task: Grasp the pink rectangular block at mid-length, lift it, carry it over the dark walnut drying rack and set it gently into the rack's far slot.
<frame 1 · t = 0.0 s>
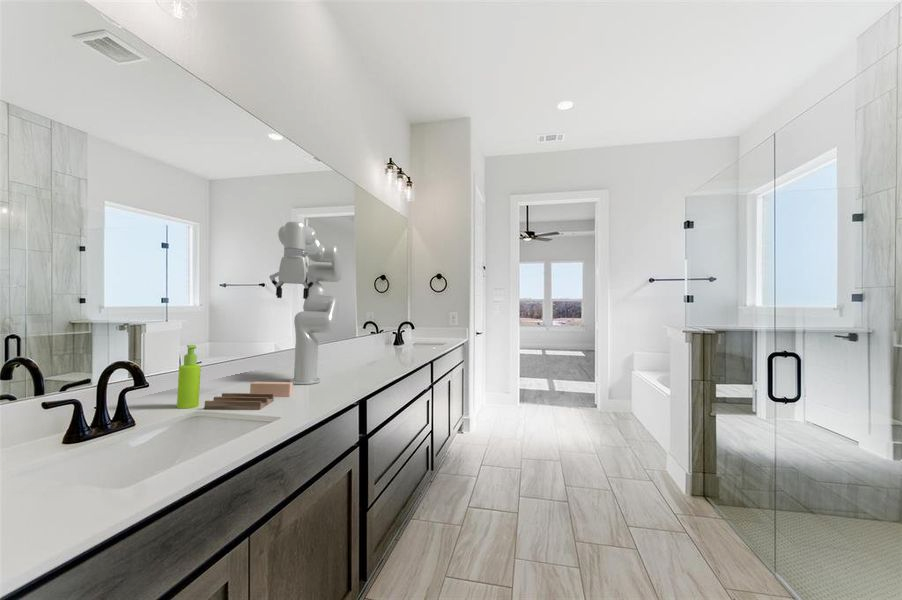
hand: (292, 298, 147), 37 cm above the counter, tool pointing down, fingers open, 9 cm apart
pink rectangular block: (271, 396, 143), on the counter
soap dispenser: (188, 407, 124), on the counter
drying rack: (240, 404, 128), on the counter
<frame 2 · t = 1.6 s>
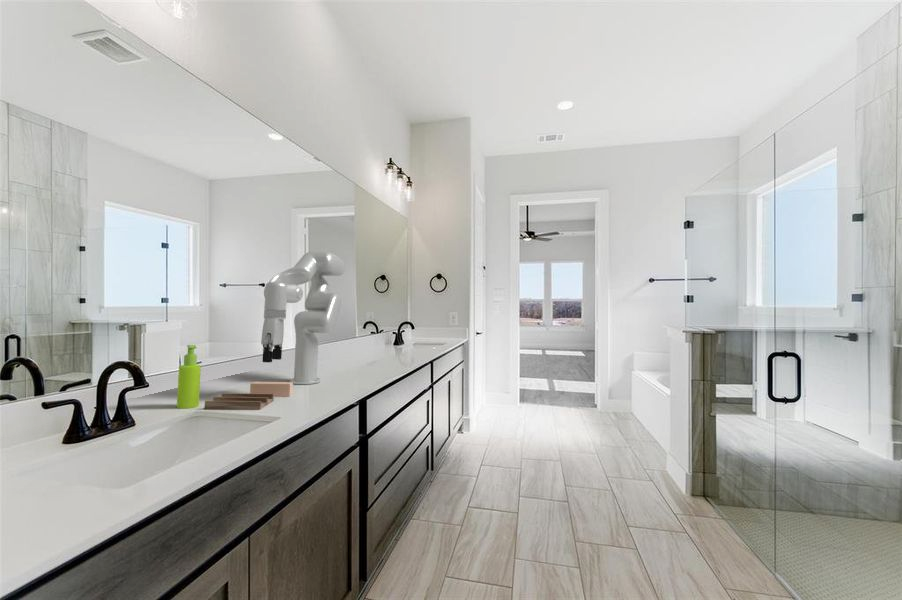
hand: (272, 360, 143), 13 cm above the counter, tool pointing down, fingers open, 9 cm apart
nothing on the counter moved.
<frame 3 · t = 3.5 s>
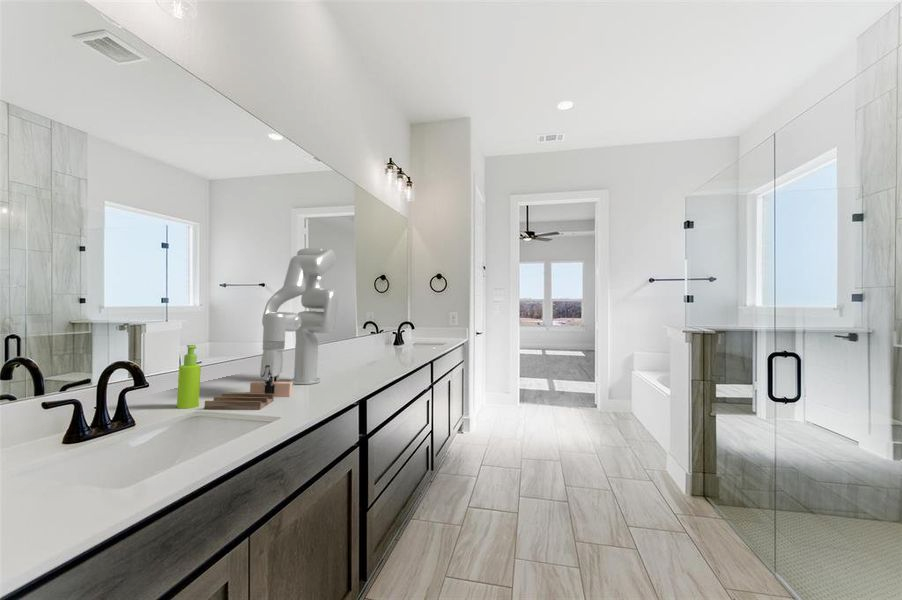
hand: (271, 394, 143), 0 cm above the counter, tool pointing down, fingers closed on pink rectangular block, 3 cm apart
pink rectangular block: (271, 395, 143), on the counter, touching gripper
everything else where it was.
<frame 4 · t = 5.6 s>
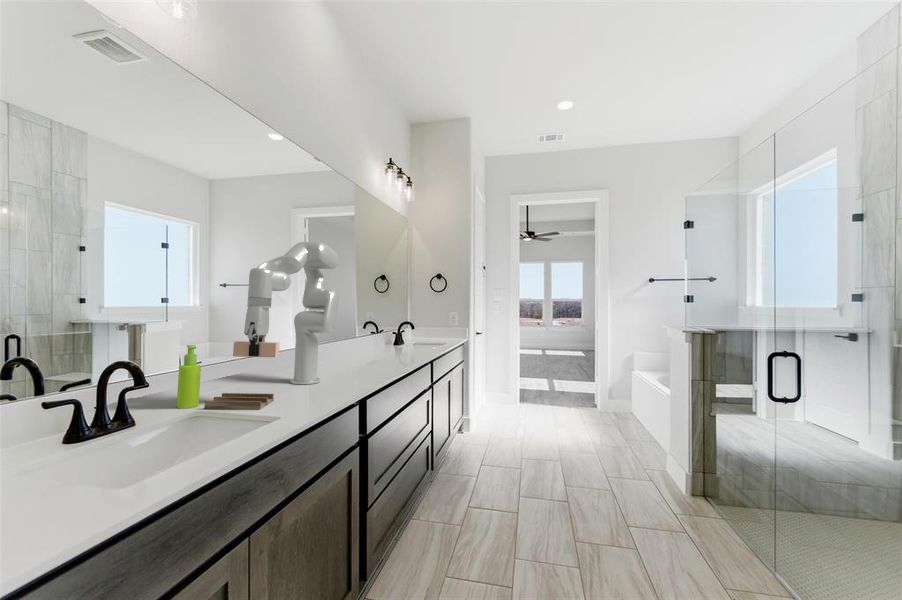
hand: (256, 355, 134), 16 cm above the counter, tool pointing down, fingers closed on pink rectangular block, 3 cm apart
pink rectangular block: (256, 356, 134), point 16 cm above the counter, touching gripper
everything else where it was.
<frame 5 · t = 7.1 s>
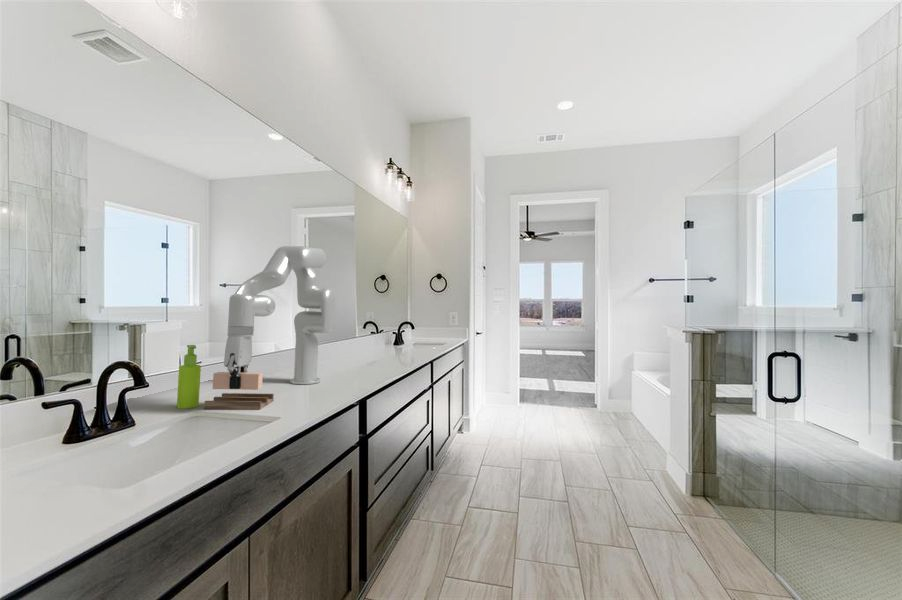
hand: (237, 386, 126), 7 cm above the counter, tool pointing down, fingers closed on pink rectangular block, 3 cm apart
pink rectangular block: (237, 388, 126), point 6 cm above the counter, touching gripper
everything else where it was.
when the fingers open (3 cm above the counter, at t = 8.1 s): pink rectangular block drops 2 cm, resting on drying rack.
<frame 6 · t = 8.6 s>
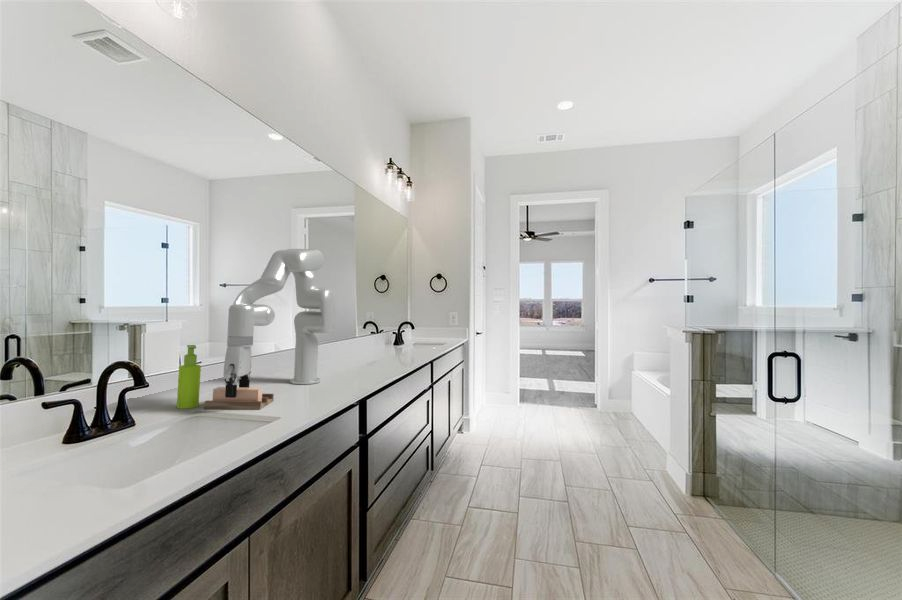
hand: (237, 394, 126), 4 cm above the counter, tool pointing down, fingers open, 9 cm apart
pink rectangular block: (237, 403, 126), point 1 cm above the counter, touching drying rack
everything else where it was.
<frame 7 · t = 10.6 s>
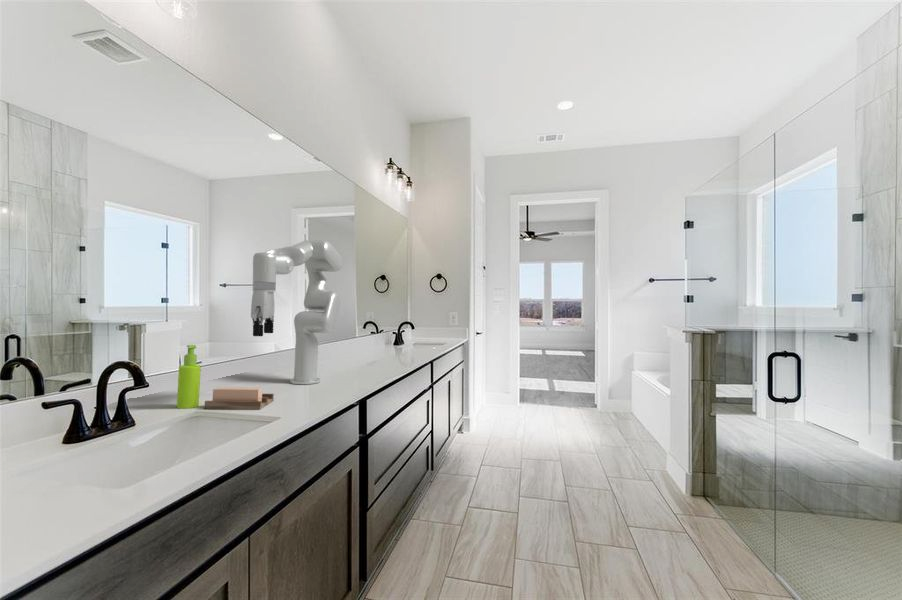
hand: (263, 334, 138), 23 cm above the counter, tool pointing down, fingers open, 9 cm apart
nothing on the counter moved.
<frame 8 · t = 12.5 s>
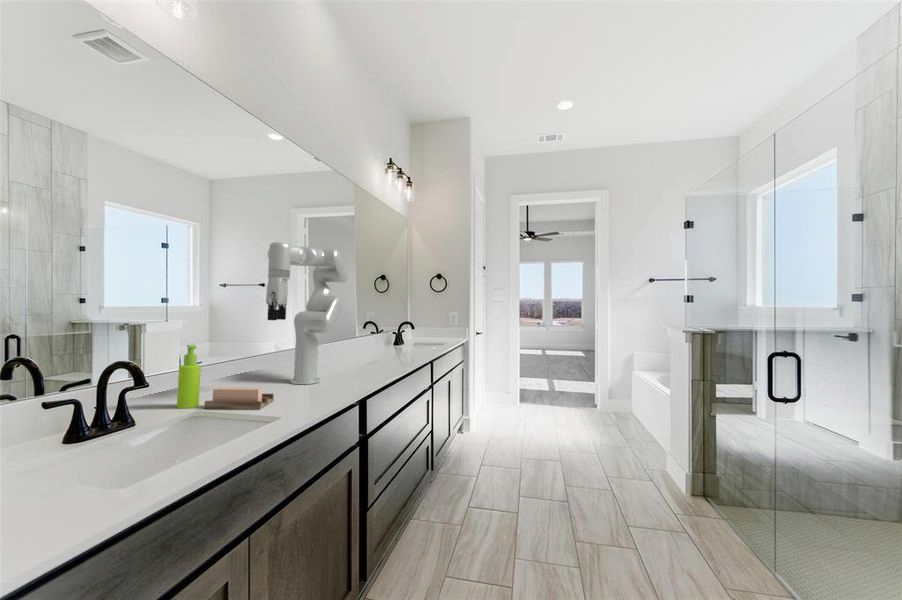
hand: (276, 319, 146), 28 cm above the counter, tool pointing down, fingers open, 9 cm apart
nothing on the counter moved.
at the end: pink rectangular block inside the target area on the drying rack (0.2 cm from its centre), point 1.0 cm above the drying rack's base; pink rectangular block tilted 0°; the gripper is holding nothing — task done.
